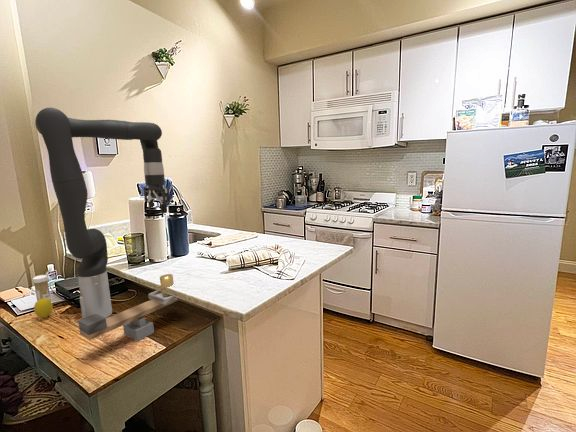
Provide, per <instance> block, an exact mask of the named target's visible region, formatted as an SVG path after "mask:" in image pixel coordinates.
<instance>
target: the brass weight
mask: <svg viewBox="0 0 576 432" xmlns="http://www.w3.org/2000/svg"><path fill="white" fill-rule="evenodd" d="M159 282H160V289H161V291H162V296H163V297H169V296H170V295H168V294H166V288H167V287H170V286H172V285H173V284H174V285H175V283H174V282H175V281H174V275H173V274H172V273H168V274H163V275H160V276H159Z"/></svg>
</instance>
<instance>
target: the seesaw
mask: <svg viewBox="0 0 576 432" xmlns="http://www.w3.org/2000/svg"><path fill="white" fill-rule="evenodd" d="M158 290H159V289H158ZM158 290H155V291H152V292H149V293H148V299H149V300H148V301H144V302H142V303H140V304H137V305H135V306H132V307H131V308H128V309H126V310H123V311H120V312H118V313H116V314H113V315H110V316H109V317H107V318H104V317H102V316H100V315H98V314H97V313H95V314H93V315H90V316H88V317H85V318H80V319H77V322H78V329H79V334H80V335H81V336H82V337H84V338H86V339H87V340H89V341H91V340H93V339H96V338H98V337H101V336H103V335H104V334H106V333H109V332H112V331H113V330H116V329H118V328H119V327H123V325H125V324H127V323H129V322H131V321H134V320H136V319H138V318H140V317H142V316H144V317H145V316H147V315H149V314H151V313H153V312H157V311H158V310H160V309H162V308H164V307H167V306H169V305H171V304H174V303H175V302H178V301H180V300H179V299H177V298H175V297H174V296H169V297H163V296H162V292H160V291H158Z"/></svg>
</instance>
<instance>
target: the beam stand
mask: <svg viewBox="0 0 576 432" xmlns="http://www.w3.org/2000/svg"><path fill="white" fill-rule="evenodd" d="M122 329H123V335H125V336H127V337H129V338H130V339H132V340H134V341H136V342H138V341H141V340H143V339H145V338H146V337H149V336H151V335H152V334H154V333H155V327H154V322H153V321H150V320H147V319H146V317H145V316H142V317H140V318H138V319H136V320H134V321H131V322H129V323H127V324H125V325H122Z"/></svg>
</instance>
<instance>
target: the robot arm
mask: <svg viewBox="0 0 576 432" xmlns="http://www.w3.org/2000/svg"><path fill="white" fill-rule="evenodd" d="M34 122H35V123H34V124H35V128H36V130H37V131H38V133H39V134H41V136H42V138H43V141H44V144H45V147H46V150H47V154H48V162H49V171H50V177H51V182H52V186H53V190H54V193H55V196H56V199H57V203H58V206H59V210H60V215H61V217H62V218H61V219H62V222H63V228H64V235H65V242H66V247H67V249H68V251H69V253H70V254H71V255H72V256H73V257H74V258H76V259H79V260H81V262H80V263H79V265H78V266H77V267H76V275H77V281H78V288H79V294H80V295H79V305H80V310H81V315H82V316H81V317H82V318H85V317H88V316H90V315H93V314H95V313H97V314H98V315H100V316H102V317H104V318H108V317H111V316H112V314H113V307H112V300H111V292H110V283H109V278H108V277H109V276H108V271H107V265H108V261H109V260H108V259H109V258H108V257H109V256H108V245H107V240H106V237H105V235H104V233H103V232H102V231H101V230H100V229H96V228H88V227H87V224H86V217H85V211H86V207H87V203H88V196H89V195H88V188H87V184H86V181H85V177H84V174H83V171H82V167H81V165H80V161H79V160H78V158H77V157H78V156H77V155H76V151H75V147H74V143H73V142H74V141H73V138H95V139H96V138H97V139H108V140H122V141H132V140H138V141H139V143H140V145H141V149H142V158H143V172H144V173H143V175H144V182H145V183H144V185H145V186H146V187H143V195H144V196H143V197H144V202H147V204H148V209H151V207H153V206H155V199H156V200H157V201H158V202H159V203H160V212H161V214H167V213H168V203H170V202H171V197H170V191H169V187H166V188H165V187H164V185H165V184H166V179H165V169H164V164H163V157H162V150H161V149H160V148H159V143H158V141H159V140H160V139H161V137H162V136H163V132H162V129H161V127H160V126H159V125H158V124H156V123H154V122H145V121H143V122H142V121H141V122H138V121H136V122H133V121H126V120H117V119H78V118H72V117H68V116H67V114H66V113H64V112H62V111H61V110H60V109H59V108H58V109H57V108H56V107H45V108H42V109H41V110H40V111H38V112H37V114H36V116H35V121H34ZM149 212H150V213H152V212H151V211H149ZM82 318H81V319H82Z"/></svg>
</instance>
